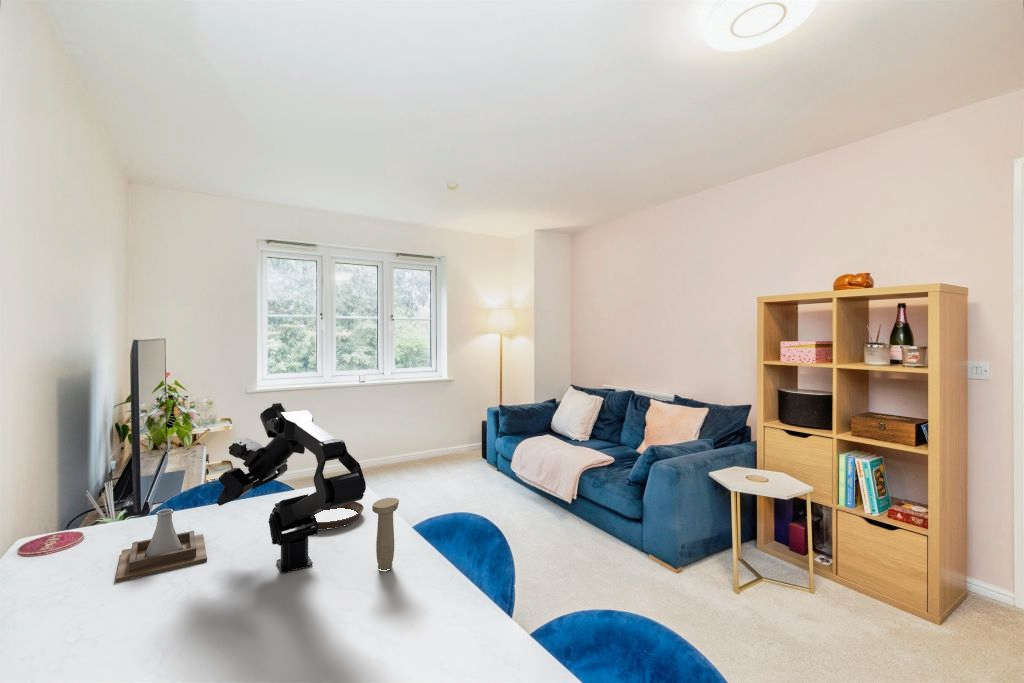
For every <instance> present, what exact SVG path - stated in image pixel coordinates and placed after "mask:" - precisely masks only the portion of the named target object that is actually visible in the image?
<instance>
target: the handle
mask: <svg viewBox="0 0 1024 683" xmlns="http://www.w3.org/2000/svg"><path fill="white" fill-rule="evenodd" d="M399 502H400V500H399V498H395V497H384V498H381V499H378V500H376V501H375V502H373V503H372V508H371V509H372V512H373V513H375V514H377V528H376V529H377V530H376V544H375V546H376V547H375V548H376V549H375V550H376V552H375V553H376V562H377V570H378V569H381V570H387V569H391V568H392V569H393V561H394V558H395V557H394V556H395V529H394V528H395V526H394V512H396V510H398V507H399ZM392 569H391V570H392Z"/></svg>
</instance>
